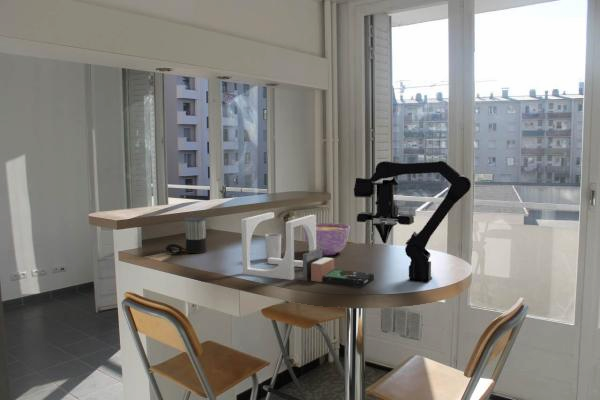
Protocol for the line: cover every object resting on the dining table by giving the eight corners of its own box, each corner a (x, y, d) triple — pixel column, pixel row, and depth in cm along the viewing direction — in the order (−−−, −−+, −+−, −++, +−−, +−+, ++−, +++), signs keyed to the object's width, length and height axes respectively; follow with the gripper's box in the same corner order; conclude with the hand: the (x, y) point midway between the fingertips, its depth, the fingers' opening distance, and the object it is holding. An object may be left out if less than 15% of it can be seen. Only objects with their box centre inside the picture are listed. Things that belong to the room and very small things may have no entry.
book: (334, 275, 180) (334, 258, 179) (321, 282, 171) (321, 264, 171) (324, 274, 182) (324, 257, 181) (311, 280, 173) (310, 262, 172)
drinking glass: (275, 256, 212) (274, 232, 210) (285, 259, 206) (284, 234, 205) (262, 258, 207) (261, 234, 206) (271, 261, 202) (271, 236, 201)
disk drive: (374, 281, 173) (334, 276, 180) (374, 273, 173) (334, 268, 180) (362, 289, 164) (321, 283, 171) (363, 280, 164) (321, 275, 171)
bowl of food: (359, 252, 217) (359, 225, 216) (330, 260, 202) (330, 232, 201) (323, 246, 230) (323, 221, 229) (293, 254, 216) (293, 227, 214)
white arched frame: (242, 274, 183) (241, 219, 181) (270, 262, 201) (269, 212, 199) (291, 280, 174) (290, 222, 172) (316, 267, 192) (315, 214, 190)
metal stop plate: (322, 273, 183) (322, 248, 182) (307, 280, 173) (306, 254, 172) (313, 271, 185) (313, 247, 184) (297, 279, 174) (297, 253, 173)
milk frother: (211, 251, 223) (210, 218, 222) (182, 257, 211) (180, 222, 210) (190, 247, 232) (189, 215, 231) (161, 253, 220) (160, 219, 219)
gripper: (418, 196, 176) (418, 241, 178) (367, 194, 185) (367, 237, 186) (409, 199, 166) (408, 247, 168) (356, 197, 175) (356, 242, 177)
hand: (384, 243), depth 175 cm, fingers closed
